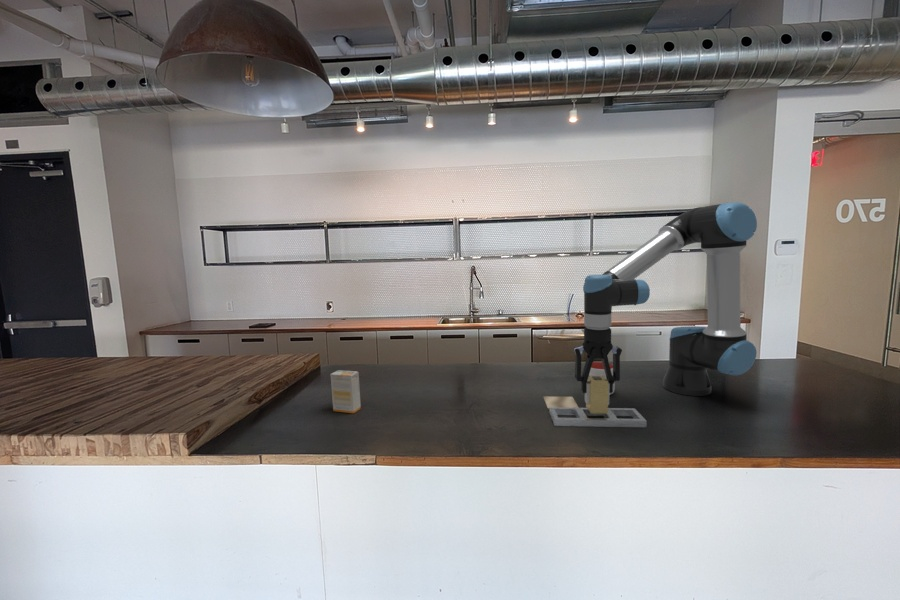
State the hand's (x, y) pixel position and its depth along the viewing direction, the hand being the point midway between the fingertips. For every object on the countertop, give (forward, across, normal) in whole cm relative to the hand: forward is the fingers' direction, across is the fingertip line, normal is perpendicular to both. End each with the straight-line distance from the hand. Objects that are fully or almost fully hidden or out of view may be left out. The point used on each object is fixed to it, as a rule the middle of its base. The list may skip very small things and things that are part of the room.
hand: (596, 402), depth 115 cm
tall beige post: (+2, 0, 0) cm, 2 cm away
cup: (+6, -8, -24) cm, 26 cm away
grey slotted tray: (+5, 0, 0) cm, 5 cm away
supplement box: (+5, +80, -5) cm, 81 cm away
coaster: (+5, +8, -13) cm, 16 cm away
